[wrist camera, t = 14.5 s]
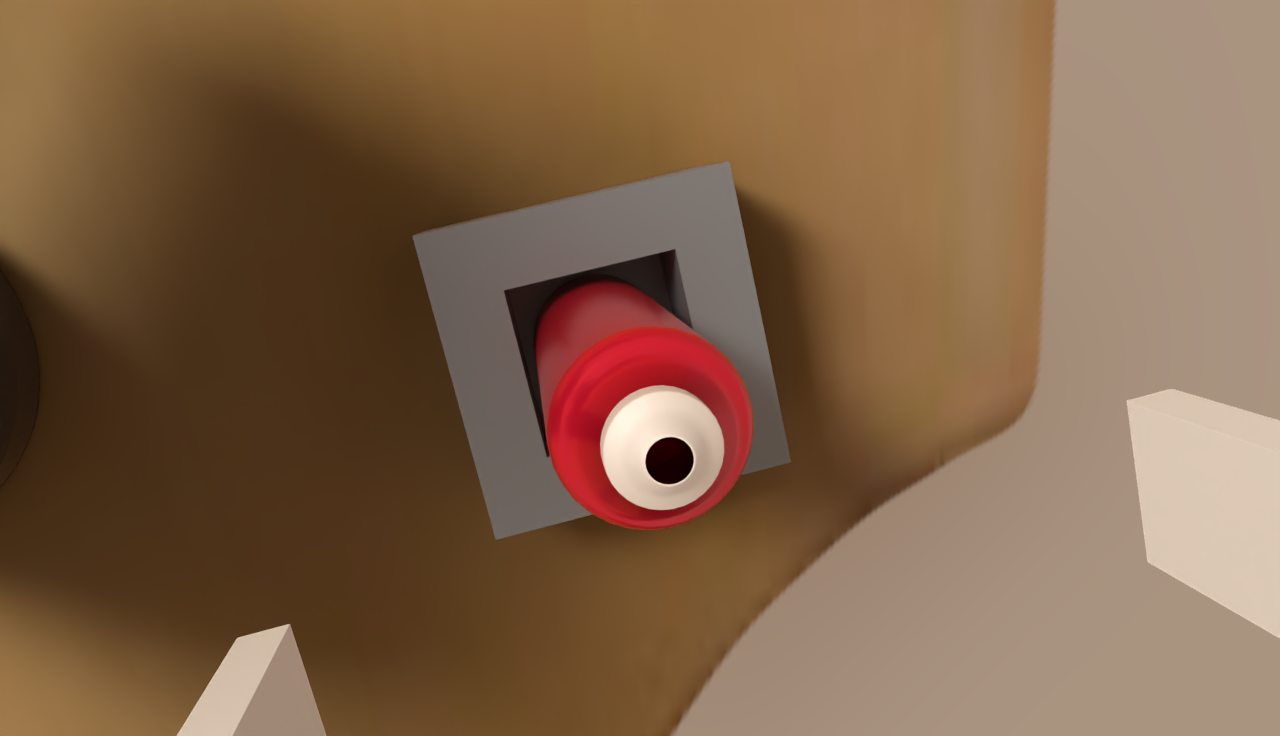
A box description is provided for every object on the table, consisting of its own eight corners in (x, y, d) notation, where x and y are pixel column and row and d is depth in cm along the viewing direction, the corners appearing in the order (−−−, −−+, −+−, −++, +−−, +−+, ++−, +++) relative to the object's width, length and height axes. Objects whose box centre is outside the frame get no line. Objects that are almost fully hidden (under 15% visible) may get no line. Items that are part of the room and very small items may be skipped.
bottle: (635, 255, 42) (742, 309, 22) (677, 372, 43) (814, 523, 23) (514, 299, 41) (515, 394, 22) (560, 417, 42) (599, 607, 23)
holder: (498, 493, 44) (495, 539, 38) (426, 230, 41) (412, 235, 35) (755, 427, 45) (791, 462, 39) (699, 166, 42) (729, 161, 36)
